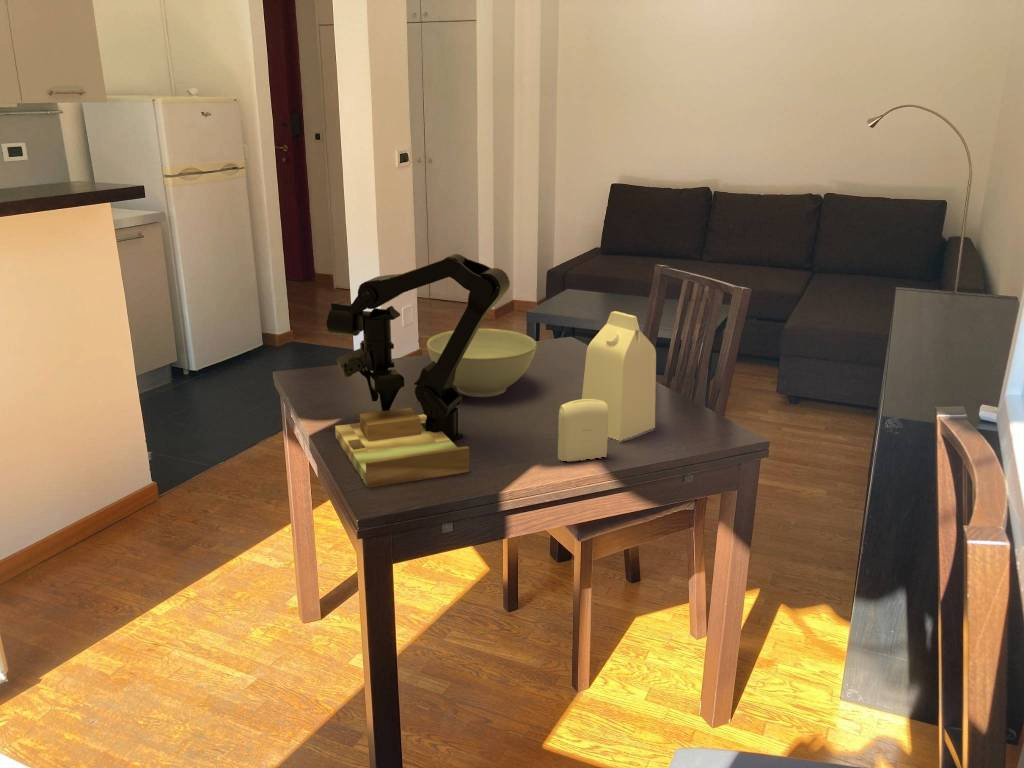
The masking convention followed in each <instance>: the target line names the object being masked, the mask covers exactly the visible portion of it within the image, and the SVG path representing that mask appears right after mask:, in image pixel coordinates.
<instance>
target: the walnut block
mask: <svg viewBox="0 0 1024 768" xmlns="http://www.w3.org/2000/svg"><path fill="white" fill-rule="evenodd" d="M418 415H419V414H417V412H415V411H414V410H413V408H412V407H405V408H397V409H390V410H387V411H381V410H380V411H372V412H371V411H370V412H364V413H359V423H360V430H361V431H362V433H363V434H364V436H365V437H366V439H367V440H368V441H376V440H383V439H390V438H398V437H405V436H412V435H419V434H421V418H420V417H419V416H418Z"/></svg>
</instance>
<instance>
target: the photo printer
mask: <svg viewBox="0 0 1024 768" xmlns="http://www.w3.org/2000/svg"><path fill="white" fill-rule="evenodd" d="M558 409H559V410H558V429H557V430H558V433H557V434H558V435H557V439H558V440H557V459H558V460H559V461H560V460H561V461H560V462H562V461H567V462H576V461H577V462H578V461H579V460H580V461H587V460H586V459H590V460H596V459H595V458H599V459H602V458H601V457H605V458H607V454H608V440H609V439H608V416H609V412H608V406H607V404H606V403H605V402H604V401H601V400H595V399H582V398H581V399H575V400H572V401H571V400H570V401H567V402H566V403H563V404H561V405H560V406H559V408H558Z"/></svg>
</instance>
